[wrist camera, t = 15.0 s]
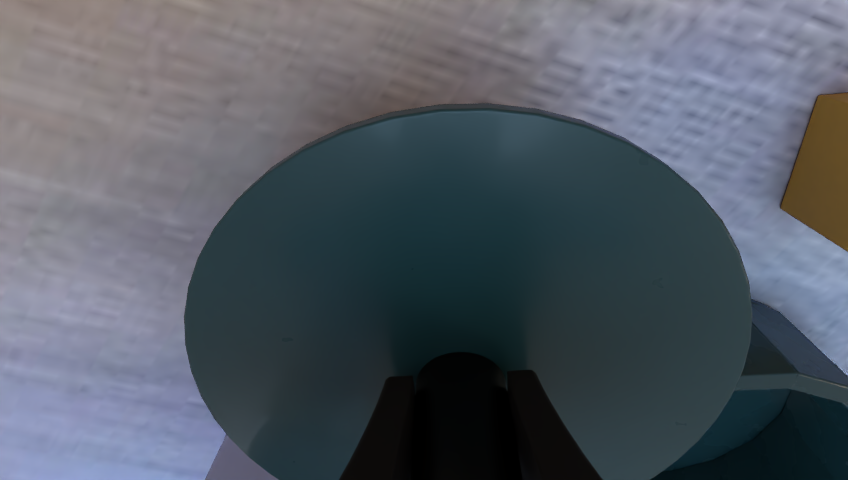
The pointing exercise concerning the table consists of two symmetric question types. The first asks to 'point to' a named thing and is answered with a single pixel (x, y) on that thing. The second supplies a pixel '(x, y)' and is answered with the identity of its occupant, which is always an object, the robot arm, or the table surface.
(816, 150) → the ochre block
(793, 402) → the pot
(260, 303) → the lid
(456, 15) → the table surface
